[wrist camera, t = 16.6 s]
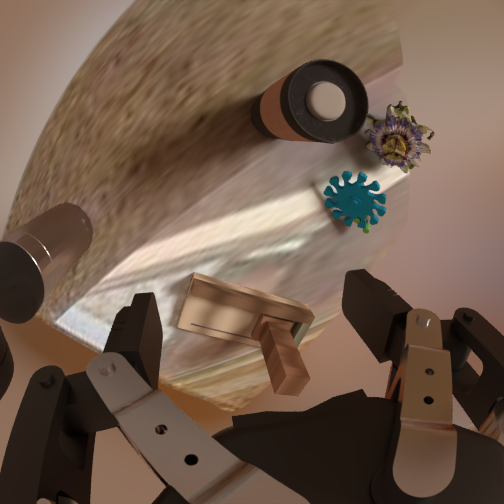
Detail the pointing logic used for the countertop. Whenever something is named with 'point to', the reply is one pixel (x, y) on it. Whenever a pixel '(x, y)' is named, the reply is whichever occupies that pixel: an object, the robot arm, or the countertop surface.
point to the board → (237, 310)
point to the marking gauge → (281, 355)
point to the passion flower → (397, 138)
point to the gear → (355, 200)
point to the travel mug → (313, 104)
